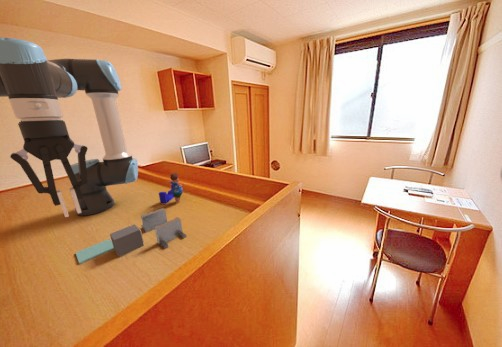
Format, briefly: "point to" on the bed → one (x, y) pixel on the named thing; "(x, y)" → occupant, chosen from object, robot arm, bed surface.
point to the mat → (94, 251)
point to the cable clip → (166, 196)
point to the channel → (162, 226)
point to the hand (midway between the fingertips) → (72, 213)
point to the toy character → (176, 187)
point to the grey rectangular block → (127, 240)
